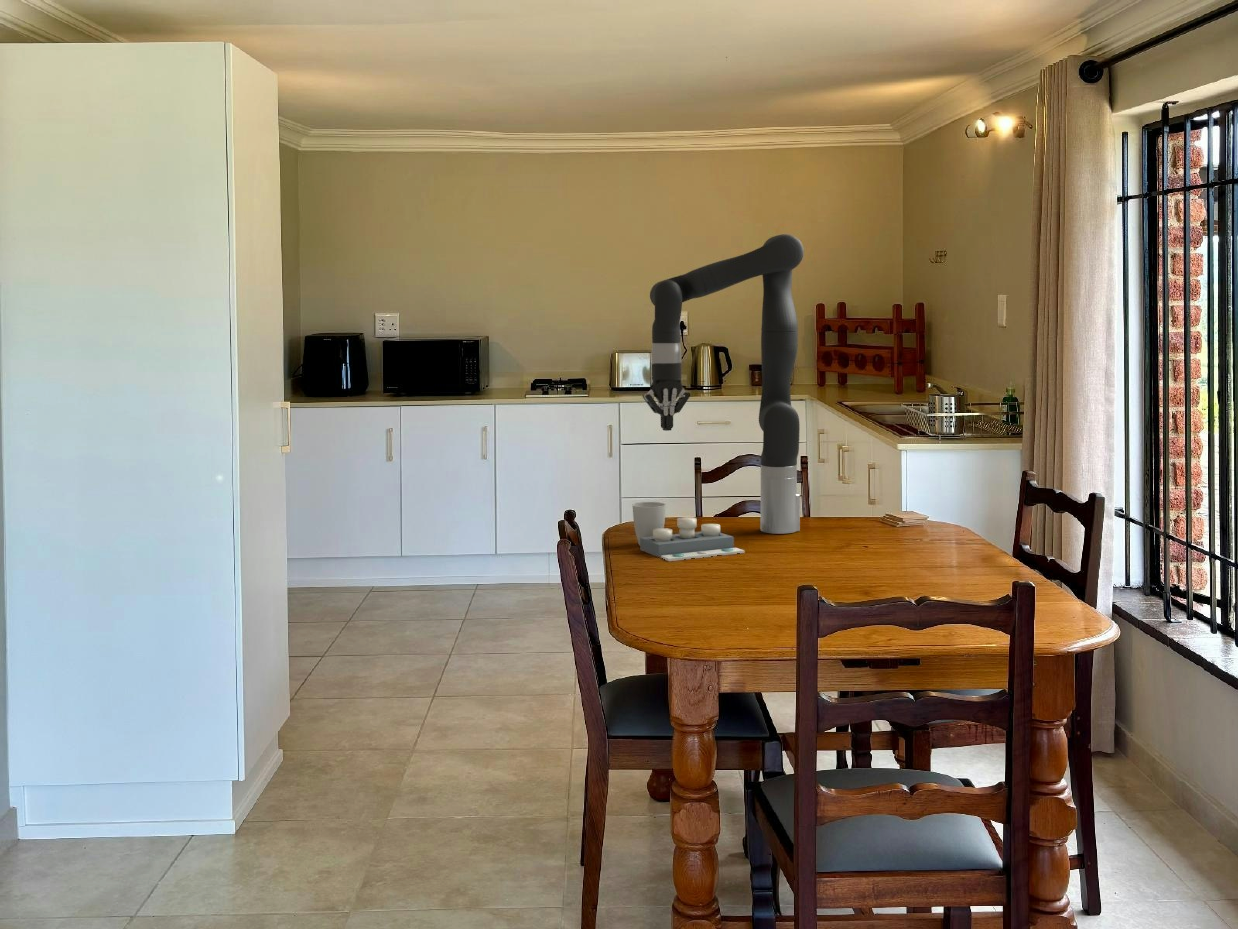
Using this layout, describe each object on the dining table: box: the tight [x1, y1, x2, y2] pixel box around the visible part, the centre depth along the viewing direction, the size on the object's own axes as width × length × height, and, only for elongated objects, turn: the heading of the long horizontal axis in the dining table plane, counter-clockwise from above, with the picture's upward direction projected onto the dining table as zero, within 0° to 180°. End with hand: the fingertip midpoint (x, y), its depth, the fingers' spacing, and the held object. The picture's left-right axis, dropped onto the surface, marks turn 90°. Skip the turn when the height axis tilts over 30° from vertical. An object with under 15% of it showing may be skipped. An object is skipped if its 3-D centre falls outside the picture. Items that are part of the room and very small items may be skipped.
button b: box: [676, 516, 698, 539], centre depth 281 cm, size 5×5×5 cm
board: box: [639, 531, 735, 558], centre depth 281 cm, size 20×10×3 cm, turn 115°
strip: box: [660, 547, 746, 562], centre depth 274 cm, size 20×4×1 cm, turn 115°
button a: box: [700, 523, 721, 537], centre depth 284 cm, size 5×5×5 cm
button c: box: [653, 527, 673, 542], centre depth 279 cm, size 5×5×5 cm
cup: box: [632, 501, 667, 546], centre depth 288 cm, size 8×8×10 cm
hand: (666, 430), depth 296 cm, fingers closed
